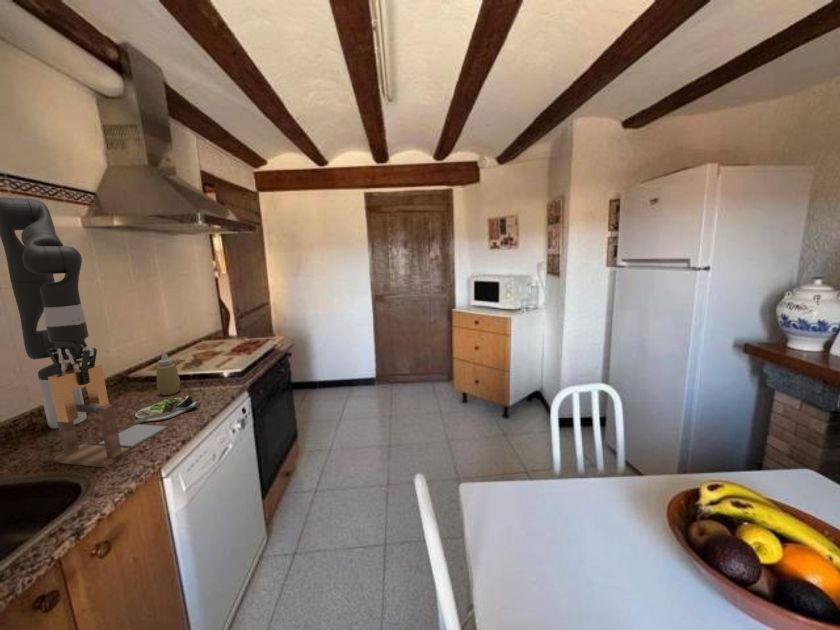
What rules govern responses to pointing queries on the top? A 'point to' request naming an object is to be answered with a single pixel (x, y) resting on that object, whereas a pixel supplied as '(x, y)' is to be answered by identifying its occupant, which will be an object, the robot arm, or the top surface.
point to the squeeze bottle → (167, 376)
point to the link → (68, 382)
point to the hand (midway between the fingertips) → (78, 383)
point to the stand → (92, 453)
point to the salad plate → (166, 409)
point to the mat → (137, 434)
